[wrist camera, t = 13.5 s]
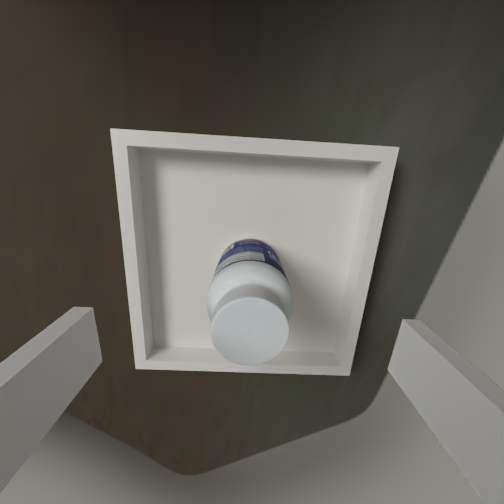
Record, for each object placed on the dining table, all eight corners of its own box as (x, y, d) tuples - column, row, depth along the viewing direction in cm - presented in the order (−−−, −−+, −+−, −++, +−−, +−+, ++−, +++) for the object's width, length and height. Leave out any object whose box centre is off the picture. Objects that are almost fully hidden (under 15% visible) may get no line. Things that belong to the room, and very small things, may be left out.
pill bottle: (284, 287, 22) (310, 368, 12) (226, 297, 22) (210, 385, 12) (274, 230, 20) (296, 273, 11) (213, 242, 20) (182, 294, 11)
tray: (146, 350, 24) (135, 368, 22) (128, 135, 18) (110, 128, 16) (339, 356, 25) (349, 375, 22) (380, 151, 19) (399, 147, 17)
